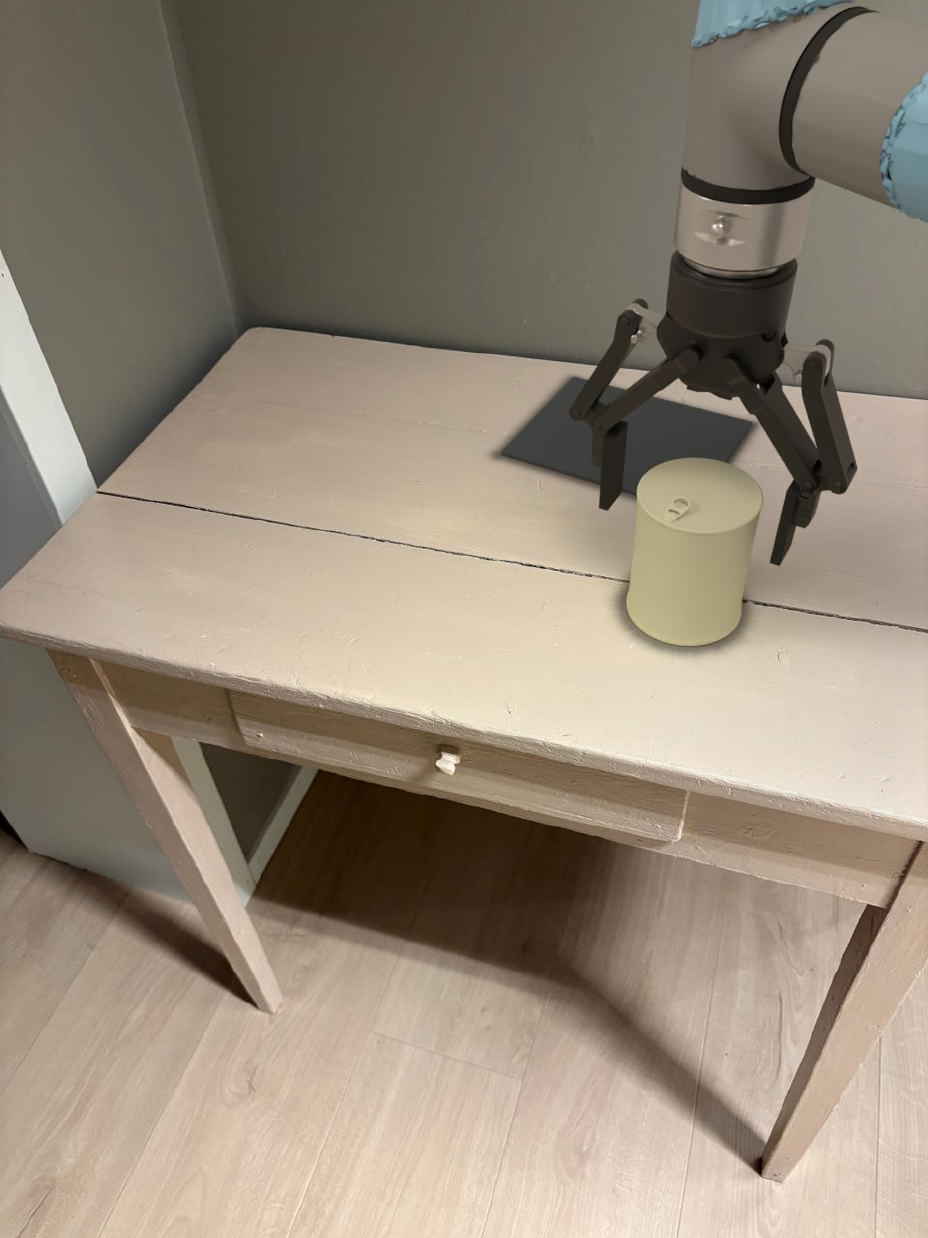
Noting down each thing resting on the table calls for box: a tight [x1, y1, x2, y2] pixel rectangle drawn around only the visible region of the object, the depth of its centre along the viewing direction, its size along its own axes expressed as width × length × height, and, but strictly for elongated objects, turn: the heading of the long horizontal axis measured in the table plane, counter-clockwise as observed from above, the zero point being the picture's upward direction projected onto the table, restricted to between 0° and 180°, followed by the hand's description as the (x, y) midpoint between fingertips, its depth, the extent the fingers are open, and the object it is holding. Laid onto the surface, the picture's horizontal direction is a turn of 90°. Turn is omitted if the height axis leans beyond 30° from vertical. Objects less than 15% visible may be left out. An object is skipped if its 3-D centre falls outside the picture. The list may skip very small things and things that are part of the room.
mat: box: [500, 376, 753, 496], centre depth 96 cm, size 20×16×1 cm
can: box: [625, 458, 765, 647], centre depth 74 cm, size 9×9×12 cm
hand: (692, 526), depth 73 cm, fingers open, 13 cm apart
